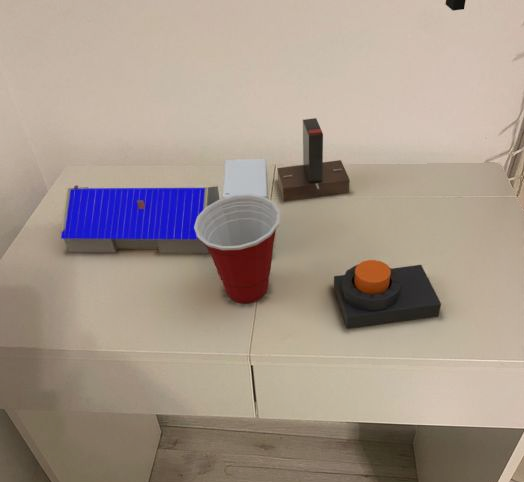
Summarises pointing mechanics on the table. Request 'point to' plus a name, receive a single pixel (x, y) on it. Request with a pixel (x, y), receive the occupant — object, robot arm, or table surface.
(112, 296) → the table surface
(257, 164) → the cosmetics box
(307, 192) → the dial panel
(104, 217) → the roof
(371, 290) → the switch button
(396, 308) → the switch button base
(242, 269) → the plastic cup
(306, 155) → the dark grey block
